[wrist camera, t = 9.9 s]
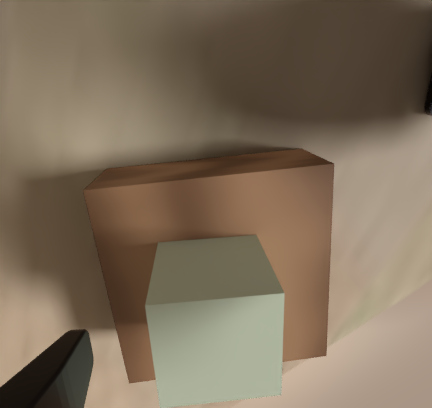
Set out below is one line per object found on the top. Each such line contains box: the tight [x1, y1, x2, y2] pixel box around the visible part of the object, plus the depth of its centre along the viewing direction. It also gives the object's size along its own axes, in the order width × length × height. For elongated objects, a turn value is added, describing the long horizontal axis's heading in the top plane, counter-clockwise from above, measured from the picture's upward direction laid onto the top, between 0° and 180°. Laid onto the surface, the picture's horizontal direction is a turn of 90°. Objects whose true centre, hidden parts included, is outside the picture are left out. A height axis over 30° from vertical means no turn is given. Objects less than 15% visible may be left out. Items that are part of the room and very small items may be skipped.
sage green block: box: [145, 235, 285, 408], centre depth 14 cm, size 5×5×5 cm
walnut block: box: [83, 149, 334, 383], centre depth 19 cm, size 12×12×5 cm
